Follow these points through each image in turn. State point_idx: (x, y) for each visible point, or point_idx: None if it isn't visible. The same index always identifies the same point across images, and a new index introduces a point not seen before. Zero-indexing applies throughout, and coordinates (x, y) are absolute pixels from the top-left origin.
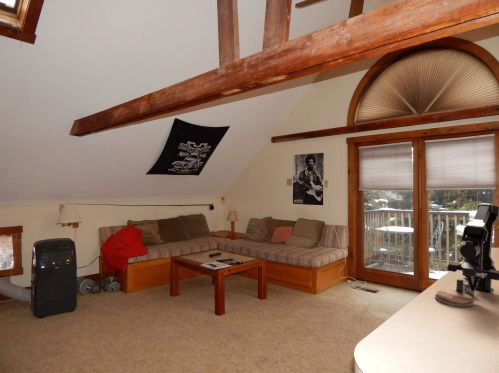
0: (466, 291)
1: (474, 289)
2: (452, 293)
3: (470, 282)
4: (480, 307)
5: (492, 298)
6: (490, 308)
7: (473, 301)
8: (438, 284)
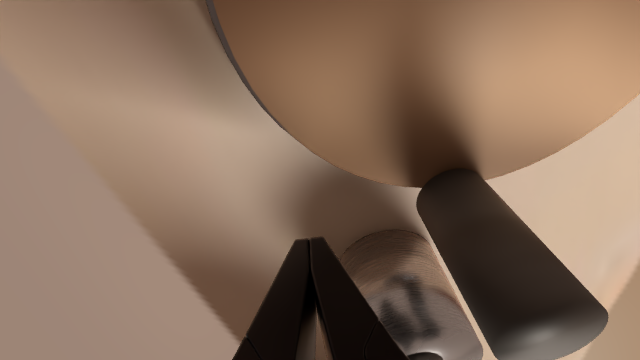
0: (394, 264)
1: (286, 261)
2: (525, 32)
3: (352, 342)
4: (132, 7)
5: (233, 319)
6: (65, 82)
7: (243, 76)
8: (603, 296)
